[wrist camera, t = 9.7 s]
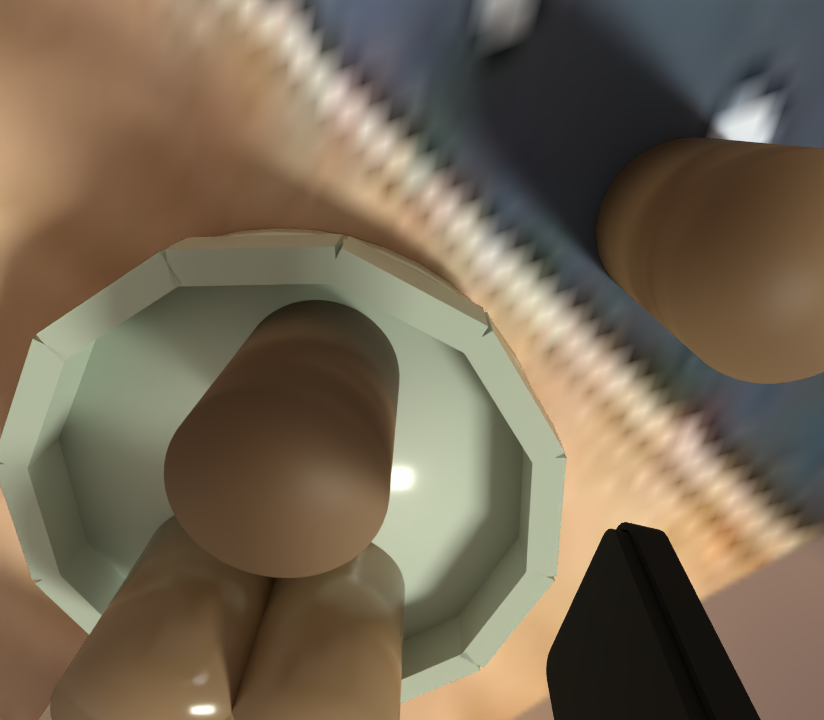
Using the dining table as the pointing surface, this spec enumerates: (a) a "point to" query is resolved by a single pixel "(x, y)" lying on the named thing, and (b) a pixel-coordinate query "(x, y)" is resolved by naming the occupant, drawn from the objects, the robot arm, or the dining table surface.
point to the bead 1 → (291, 445)
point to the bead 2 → (724, 251)
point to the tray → (425, 443)
